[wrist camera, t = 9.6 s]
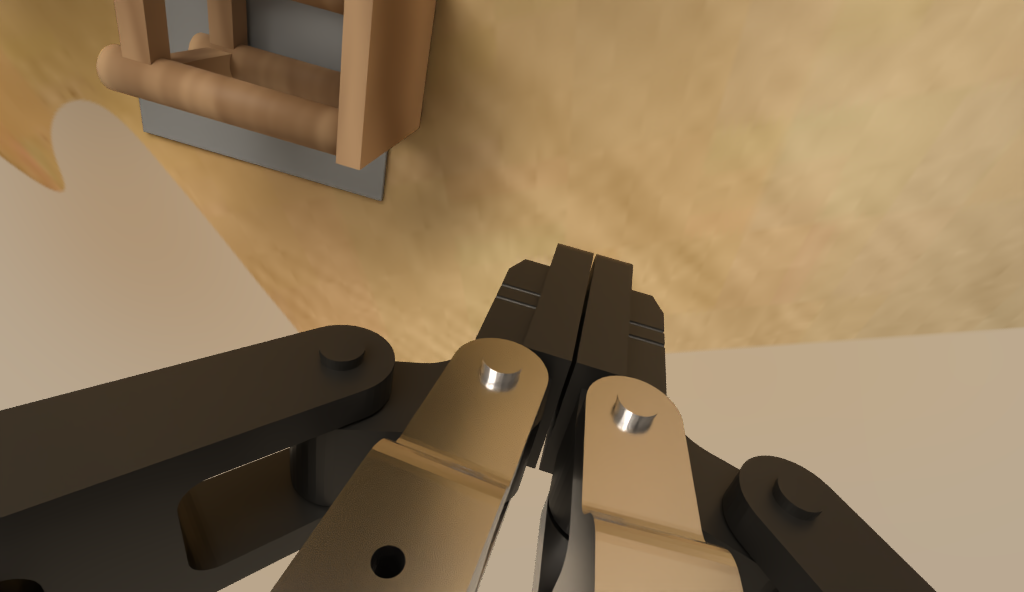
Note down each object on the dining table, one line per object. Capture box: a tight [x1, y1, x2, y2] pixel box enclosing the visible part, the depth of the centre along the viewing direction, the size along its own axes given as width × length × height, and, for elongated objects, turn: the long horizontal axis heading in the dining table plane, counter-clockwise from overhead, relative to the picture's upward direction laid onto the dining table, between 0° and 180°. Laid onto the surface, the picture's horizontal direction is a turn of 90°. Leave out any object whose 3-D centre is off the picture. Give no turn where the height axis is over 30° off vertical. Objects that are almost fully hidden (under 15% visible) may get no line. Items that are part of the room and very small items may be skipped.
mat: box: [139, 0, 388, 201], centre depth 26 cm, size 14×16×1 cm
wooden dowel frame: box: [97, 0, 436, 170], centre depth 23 cm, size 7×7×11 cm
